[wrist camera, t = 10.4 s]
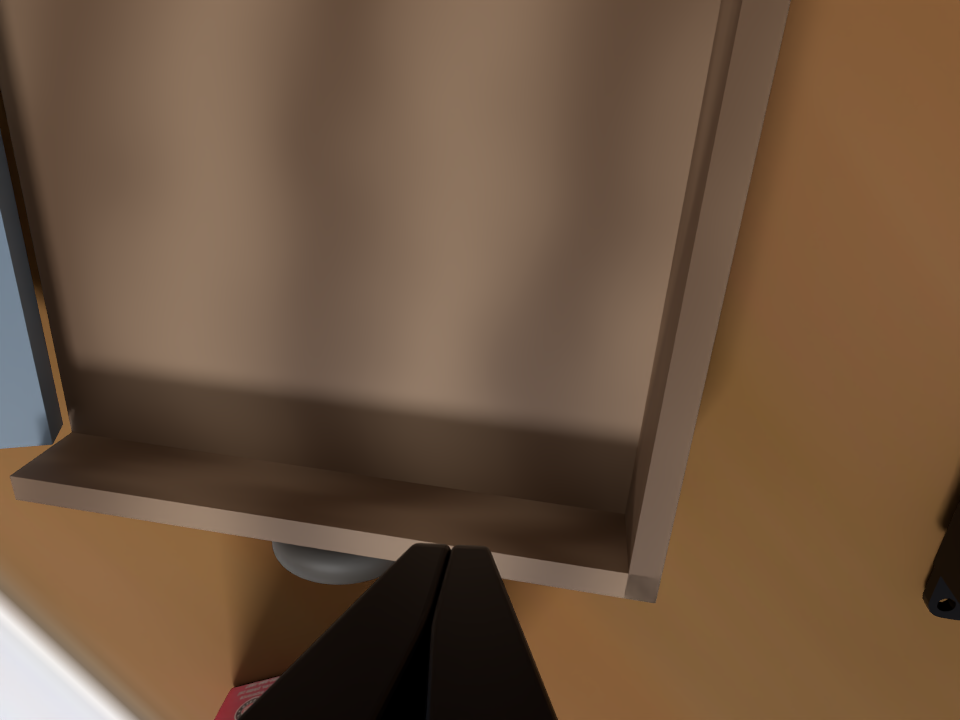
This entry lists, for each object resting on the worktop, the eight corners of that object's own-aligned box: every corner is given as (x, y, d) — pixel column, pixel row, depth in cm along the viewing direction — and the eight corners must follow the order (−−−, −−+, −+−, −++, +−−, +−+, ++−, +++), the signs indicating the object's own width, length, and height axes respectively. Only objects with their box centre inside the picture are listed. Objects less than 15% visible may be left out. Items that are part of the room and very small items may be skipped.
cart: (779, -177, 14) (851, -272, 10) (637, 533, 22) (646, 640, 18) (6, -201, 16) (-188, -288, 12) (122, 455, 24) (25, 536, 20)
